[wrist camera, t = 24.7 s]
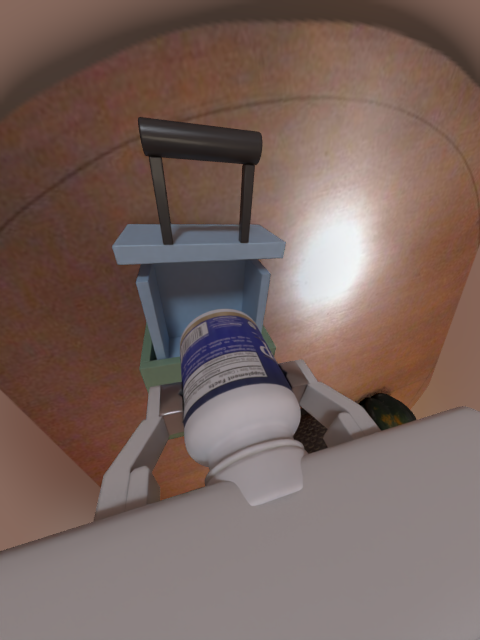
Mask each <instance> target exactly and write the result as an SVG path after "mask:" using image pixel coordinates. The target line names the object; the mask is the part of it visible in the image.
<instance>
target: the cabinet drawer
mask: <svg viewBox="0 0 480 640" xmlns="http://www.w3.org/2000/svg"><path fill="white" fill-rule="evenodd" d="M138 125H139V132H140V138H141V143H142V148H143V151H144V154H145V155H146V156H149V161H150V167H151V173H152V179H153V185H154V191H155V197H156V203H157V209H158V216H159V222H160V224H128V225H127V226H126V227H125V229H124V230H123V232H122V233H121V234H120V236H119V237H118V239H117V240H116V241H115V243H114V244H113V245H112V248H113V251H114V254H115V257H116V261H117V264H118V265H128V264H141V267H140V270H139V273H138V277H137V280H136V285H137V289H138V292H139V296H140V300H141V303H142V307H143V310H144V314H145V318H146V321H147V325H148V329H149V332H150V336H151V339H152V343H153V347H154V350H155V354H156V358H157V360H160V359H167V358H173V357H180V340H181V336H182V334H183V332H184V330H185V328H186V327H187V326H188V325H189V324H190V323H191V322H192V321H193V320H194V319H195V318H197V317H198V316H200V315H202V314H204V313H206V312H209V311H212V310H217V309H234V310H238V311H241V312H243V313H245V314H247V315H248V316H249V317H250V318H252V319H253V321H254V322H255V323H256V325H257V327H258V329H259V330H260V332H261V333H262V326H263V320H264V314H265V308H266V301H267V295H268V289H269V283H270V276H271V274H270V273H269V271H268V270H267V269H266V268H265V267H264V266H263V265H262V264H261V263H260V262H259V261H258V260H257V259H272V258H283V255H284V250H285V245H286V242H284V241H283V240H281V239H280V238H278V237H277V236H275V235H274V234H272V233H271V232H269V231H268V230H266V229H265V228H263V227H262V226H260V225H250V219H251V206H252V194H253V182H254V169H255V165H257V164H258V163H259V160H260V157H261V153H262V135H261V133H260V132H255V131H247V130H239V129H231V128H223V127H215V126H207V125H199V124H191V123H183V122H175V121H167V120H159V119H151V118H143V117H139V118H138ZM161 157H163V158H176V159H188V160H200V161H212V162H225V163H237V164H243V166H242V184H241V203H240V223H239V225H216V224H171V222H170V214H169V207H168V200H167V192H166V185H165V178H164V170H163V163H162V158H161Z"/></svg>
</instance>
